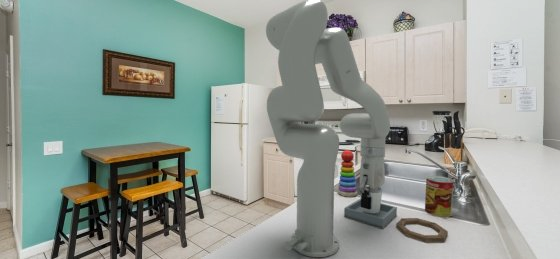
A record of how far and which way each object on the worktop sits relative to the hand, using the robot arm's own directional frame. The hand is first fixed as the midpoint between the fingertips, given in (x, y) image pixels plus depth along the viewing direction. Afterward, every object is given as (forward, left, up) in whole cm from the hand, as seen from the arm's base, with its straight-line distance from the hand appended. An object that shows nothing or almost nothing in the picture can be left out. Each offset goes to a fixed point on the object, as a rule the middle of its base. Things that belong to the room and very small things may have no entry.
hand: (370, 204), depth 82 cm
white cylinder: (0, 0, -2) cm, 2 cm away
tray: (0, 0, -4) cm, 4 cm away
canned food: (+19, -16, -4) cm, 25 cm away
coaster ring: (0, -15, -4) cm, 16 cm away
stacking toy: (+15, +16, -4) cm, 22 cm away
